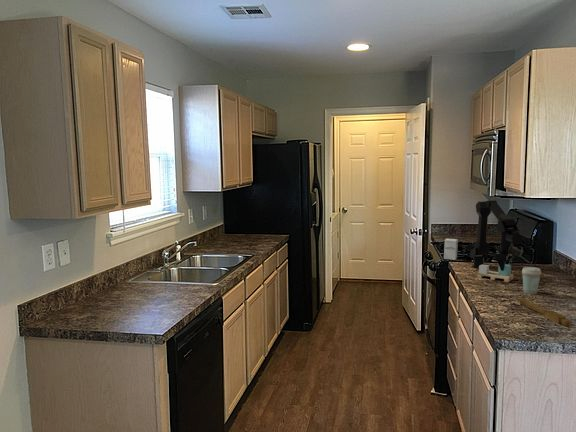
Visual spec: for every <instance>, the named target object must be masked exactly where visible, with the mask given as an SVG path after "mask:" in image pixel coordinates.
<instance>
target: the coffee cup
mask: <svg viewBox="0 0 576 432" xmlns="http://www.w3.org/2000/svg"><path fill="white" fill-rule="evenodd" d="M521 272H522V284H523V285H522V287H523V289H522V290H523V293H524V294H527V295H537V294H538V289H539V285H540V280H541V275H542V270H541V268H539V267H534V266H524V267H523V268H522V270H521Z"/></svg>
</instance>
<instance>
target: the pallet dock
mask: <svg viewBox="0 0 576 432" xmlns="http://www.w3.org/2000/svg"><path fill="white" fill-rule="evenodd" d="M476 276H477V277H476V278H479V279H482V278H483V277H488V278H489V277H490V281H491V280H492V281H495V280H497V279H502V280H503V281H504V283H509V282H510V281H512V280H514V274H513V273H511V274H510V275H508V276H506V275H499V274H498V271H492V270H489V273H487V274H483V273H479V271H478V272H477V274H476Z"/></svg>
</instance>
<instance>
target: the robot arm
mask: <svg viewBox="0 0 576 432" xmlns="http://www.w3.org/2000/svg"><path fill="white" fill-rule="evenodd" d="M475 211H476V214H477V215H478V223H477V236H476V237H477V238H476V241H475V242H474V244H473V248H472V249H471V251H470V252H469V253H470V254H469V255H470V257H471V258H473V265H471V266H470V267H471V268H475V269H476V268H477V269H479V266H480V265H485V264H484V263H485V258H488V257H489V253H490V244H489V243H488V242H487V234H488V221H489V220H488V219H489V216H490V215H491V213H492V214H493V215H494V216H495V218H496V219H497V225H498V227H499V228H500V229H499V230H498V232H499V233H500V237H499V239H500V241H499V242H498V245H499V250H498V251H497V252H495V254H493V259H494V260H496V262H497V264H498V265H499V267H500V269H501V271H504V267H505V264H508V265H510V263H511V260H512V259H513V258H514V257H515V256H516V257H517V258H520V257H521V256H522V255H523V253H524V248H523V246H520V244H521V243H522V242H523V236H522V235H521V234H520V231H519V227H518V225H517V223H516V220H515V219H514V218H513V217H512V216H511V215H509V214H506V213H505V211H504V210H503V209H502V207H501V206H500V205H499V203H498V201H497V200H494V199H490V200H489V199H488V200H486V201H485V200H483V201H477V202H476V204H475ZM514 245H515V246H514ZM517 245H519V246H518V247H517Z"/></svg>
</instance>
